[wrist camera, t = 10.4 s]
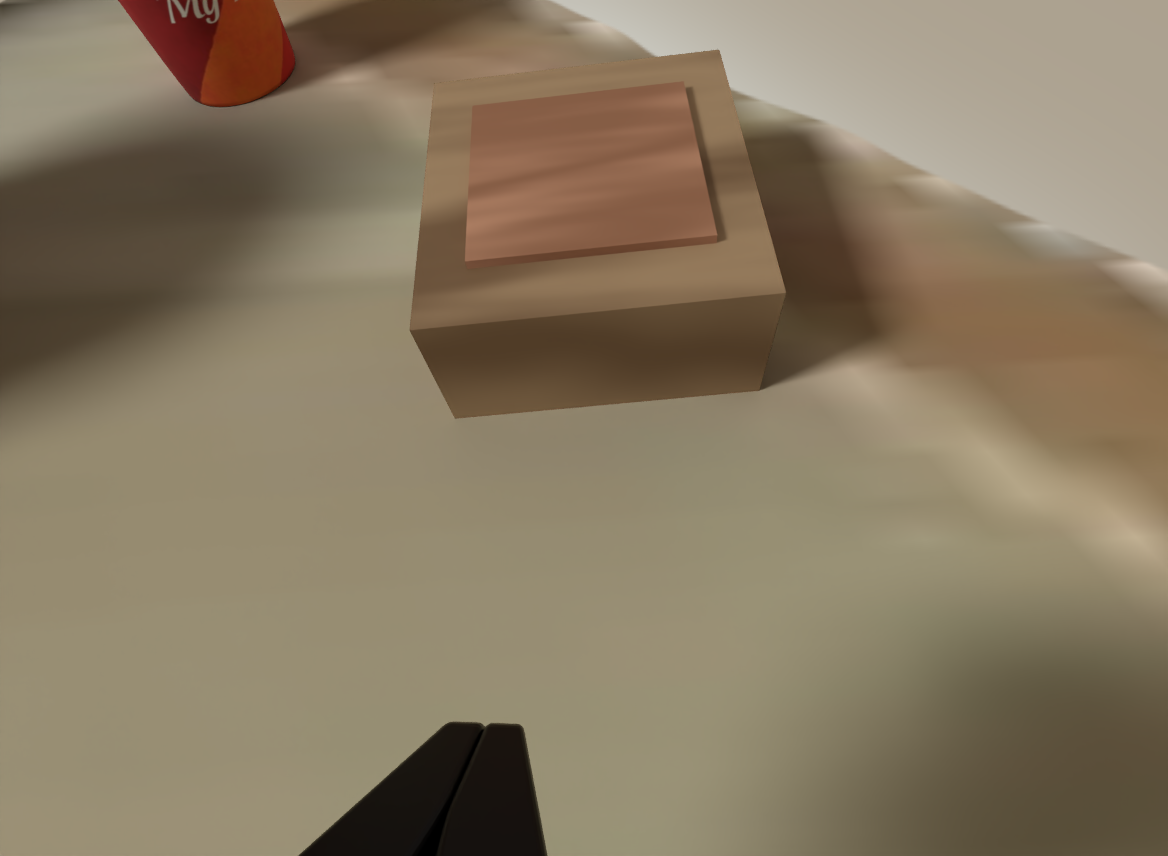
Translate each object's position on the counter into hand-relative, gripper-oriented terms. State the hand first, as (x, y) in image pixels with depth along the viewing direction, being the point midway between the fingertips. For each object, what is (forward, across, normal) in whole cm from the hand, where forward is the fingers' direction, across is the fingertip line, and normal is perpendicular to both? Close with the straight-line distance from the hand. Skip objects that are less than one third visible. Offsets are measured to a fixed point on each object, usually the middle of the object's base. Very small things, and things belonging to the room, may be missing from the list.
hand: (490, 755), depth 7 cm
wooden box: (+13, 0, -2) cm, 13 cm away
